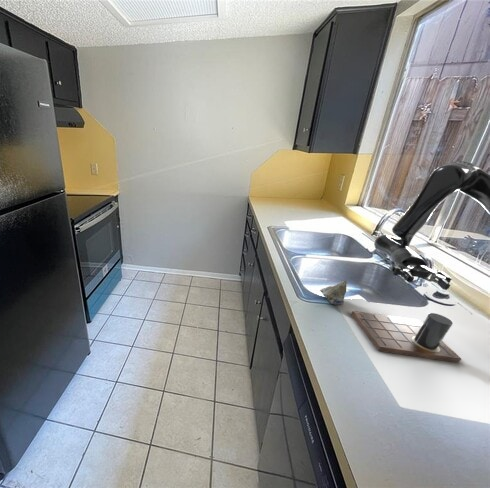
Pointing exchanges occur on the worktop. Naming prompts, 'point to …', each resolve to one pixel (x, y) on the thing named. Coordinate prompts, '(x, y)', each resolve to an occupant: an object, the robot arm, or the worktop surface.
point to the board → (399, 336)
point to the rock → (335, 293)
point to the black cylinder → (433, 331)
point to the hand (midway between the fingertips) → (429, 283)
